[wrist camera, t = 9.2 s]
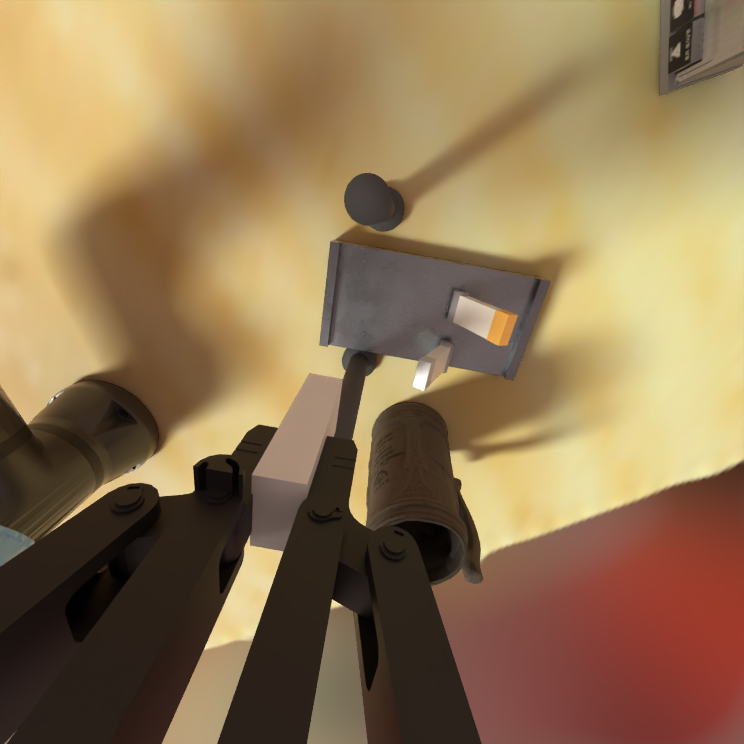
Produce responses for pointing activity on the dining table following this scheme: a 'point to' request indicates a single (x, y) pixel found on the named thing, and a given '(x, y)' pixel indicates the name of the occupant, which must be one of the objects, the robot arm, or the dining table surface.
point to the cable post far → (352, 389)
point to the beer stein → (421, 491)
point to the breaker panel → (422, 306)
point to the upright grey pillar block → (699, 41)
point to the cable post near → (373, 202)
